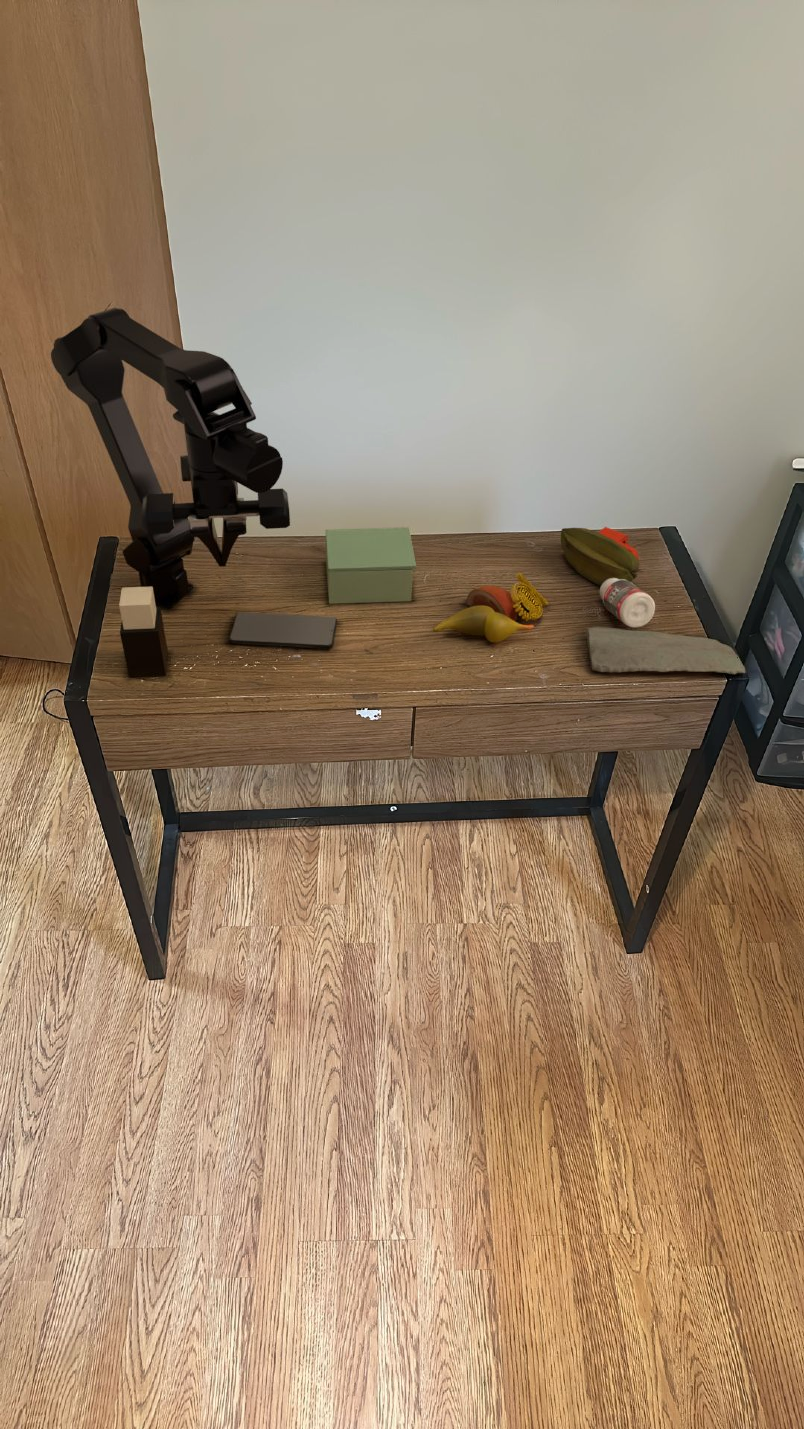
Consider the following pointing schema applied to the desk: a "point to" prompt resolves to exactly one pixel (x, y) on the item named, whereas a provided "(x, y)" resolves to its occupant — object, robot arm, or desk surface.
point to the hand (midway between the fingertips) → (222, 564)
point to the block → (137, 608)
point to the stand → (145, 649)
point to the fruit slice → (493, 600)
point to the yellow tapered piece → (482, 623)
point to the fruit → (597, 556)
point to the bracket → (618, 539)
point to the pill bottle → (627, 602)
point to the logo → (527, 599)
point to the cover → (369, 549)
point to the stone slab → (657, 652)
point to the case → (369, 585)
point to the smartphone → (283, 630)
